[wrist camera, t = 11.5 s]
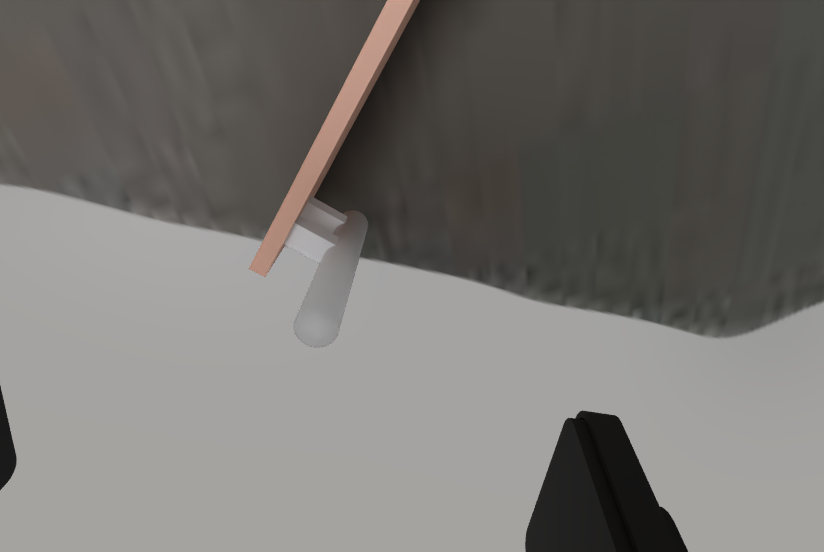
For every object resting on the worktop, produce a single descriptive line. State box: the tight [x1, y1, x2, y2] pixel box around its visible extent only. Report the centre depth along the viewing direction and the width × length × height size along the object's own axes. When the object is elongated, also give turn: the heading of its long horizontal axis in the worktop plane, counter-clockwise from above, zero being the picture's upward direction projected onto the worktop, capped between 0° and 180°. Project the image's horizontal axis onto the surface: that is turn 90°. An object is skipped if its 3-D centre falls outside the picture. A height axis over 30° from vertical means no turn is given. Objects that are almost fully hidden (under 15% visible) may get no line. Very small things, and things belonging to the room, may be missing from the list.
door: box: [249, 0, 420, 347], centre depth 23 cm, size 20×4×15 cm, turn 149°
